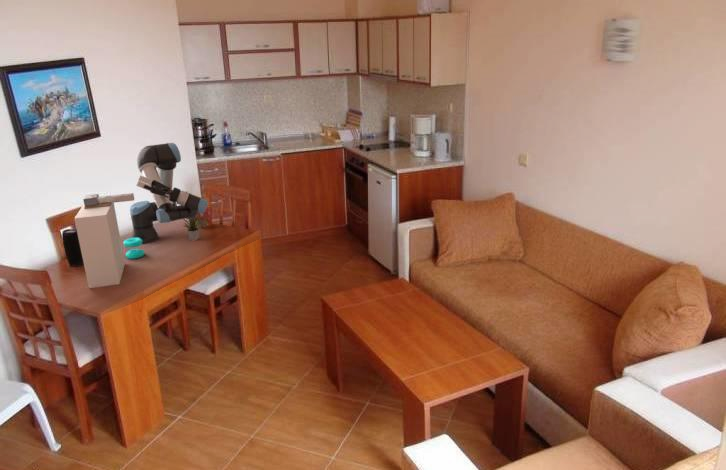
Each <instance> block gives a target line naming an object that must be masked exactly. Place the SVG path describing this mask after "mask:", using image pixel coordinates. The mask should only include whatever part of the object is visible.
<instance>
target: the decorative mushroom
mask: <svg viewBox="0 0 726 470" xmlns="http://www.w3.org/2000/svg"><path fill="white" fill-rule="evenodd" d="M197 214H198V215H197V218H198V217H199V216H200V215H202V216H200V217H199V218H198V220H199V219H200V218H201V219H200V220H199V221H198V220H197V221H196V224H197V223H198V224H197V225H199V226H198V227H199V228H201V227H203V228H205V227H207V225H208V220H207V219H208V218H210V217H211V216H212V211H211V210H210V208H209V207H208V206H207V208H206V210H205V212H204V213H199V212H198V213H197ZM197 218H196V219H197ZM194 219H195V217H194ZM199 222H200V223H199ZM201 222H202V223H201ZM204 226H205V227H204ZM198 227H197V228H198Z"/></svg>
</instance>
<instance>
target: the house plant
mask: <svg viewBox="0 0 726 470" xmlns="http://www.w3.org/2000/svg"><path fill="white" fill-rule="evenodd" d="M197 215H198V214H197ZM197 215H196V216H195V219H194V218H193V219H188V221H189V222H188V221H187V219H186V218H185V219H183V220H184V221H185V222H184V224H185V225H183V227H185V228H187V235H188V237H189V240H190V241H192V240H195V241H197V240H196V239H198V240H199V239H200V227H199V228H198V226H199V225H197V224H198V223H197V222H196V221H197V220H198V218H199V217H200V216H202V215H200V216H199V217H198V218H197ZM196 218H197V219H196ZM200 219H201V218H200ZM200 219H199V220H200ZM199 220H198V221H199ZM199 223H200V222H199ZM201 223H202V222H201Z"/></svg>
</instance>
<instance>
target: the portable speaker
mask: <svg viewBox="0 0 726 470" xmlns="http://www.w3.org/2000/svg"><path fill="white" fill-rule="evenodd" d="M61 236H62V244H63V250H64V254H65V257H66V260H67V262H68V263H67V264H68V265H70V267H72V266H74V267H79V266H78V265H80V266H82V264H83V265H84V262H83V258H82V253H81V248H80V243H79V239H78V234H77V229H76V228H72V229H71V228H67V229H64V230H62V235H61Z"/></svg>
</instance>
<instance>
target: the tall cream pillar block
mask: <svg viewBox="0 0 726 470" xmlns="http://www.w3.org/2000/svg"><path fill="white" fill-rule="evenodd" d="M115 207H116V206H115V203H106V204H98V205H95V206H86V207H85V205H84V203H83V204H82V206H81V207H80V209H79V210H78V212H77V214H76V215H75V216H74V224H75V229H77V234H78V239H79V243H80V248H81V253H82V258H83V262H84V263H83V266H84V271H85V276H86V281H87V286H88V288H89V289H95V288H101V287H107V286H115V285H120V283H121V280H122V276H123V273H124V268H125V265H126V262H125V257H124V255H125V254H124V251H123V246H122V245H123V244H122V240H121V235H120V230H119V225H118V219H117V213H116V209H115Z"/></svg>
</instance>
